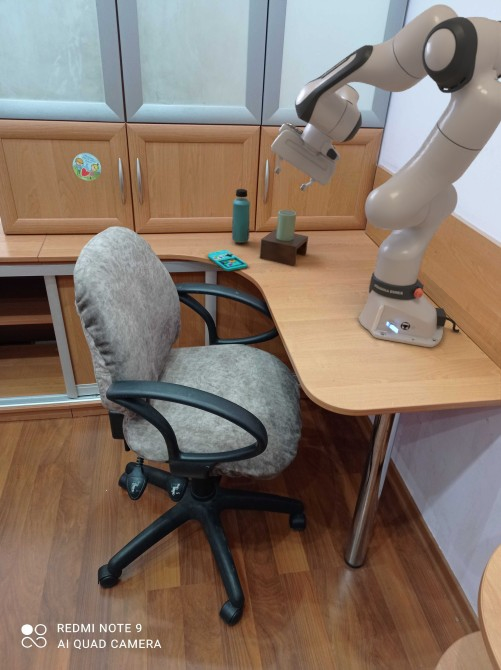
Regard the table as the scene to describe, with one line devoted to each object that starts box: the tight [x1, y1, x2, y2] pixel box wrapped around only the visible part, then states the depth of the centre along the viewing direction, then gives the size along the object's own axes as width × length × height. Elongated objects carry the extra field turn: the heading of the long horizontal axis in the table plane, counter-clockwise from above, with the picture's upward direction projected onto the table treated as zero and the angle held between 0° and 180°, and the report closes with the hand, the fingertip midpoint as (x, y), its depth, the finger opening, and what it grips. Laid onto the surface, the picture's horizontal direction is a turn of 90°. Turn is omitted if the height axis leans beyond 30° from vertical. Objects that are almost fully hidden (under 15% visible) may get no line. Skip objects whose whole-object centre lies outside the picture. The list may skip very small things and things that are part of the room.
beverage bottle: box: [231, 188, 251, 243], centre depth 174 cm, size 6×7×20 cm
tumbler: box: [276, 209, 297, 241], centre depth 164 cm, size 6×6×9 cm
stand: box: [259, 229, 309, 267], centre depth 168 cm, size 13×12×7 cm
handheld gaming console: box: [207, 249, 248, 272], centre depth 164 cm, size 8×1×15 cm
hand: (289, 181), depth 144 cm, fingers open, 8 cm apart
